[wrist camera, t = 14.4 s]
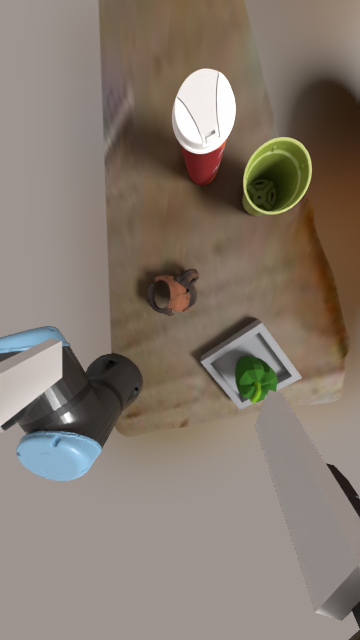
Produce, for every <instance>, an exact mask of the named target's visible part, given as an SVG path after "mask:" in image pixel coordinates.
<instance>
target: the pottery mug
mask: <svg viewBox="0 0 360 640" xmlns="http://www.w3.org/2000/svg"><path fill="white" fill-rule="evenodd" d="M198 278H199V275H198V271H197V270H196V269H189V270H187V271H185V272H184V273H183V274H182V275H178V276H177V277H176V281H175V280H173V279H174V277H173V276H169V275H161V276H157V277H155V282H154V283H150V284H149V287H148V300H149V303H150V306H151V307H152V308H153V309H154V310H155V311H157V312H160V313H163V314H165V315H168V316H172V315H174V314H173V313H172V309H173V310H175V311H177V312H182V311H183V312H186V311H188V310H189V309H191V308H192V307H193V306H194V304H195V302H196V298H197V292H196V288H195V287H194V284H195V282H196V281H197V279H198ZM162 280H163V281H165V282H166V283H167V284H168V286H169V289H170V301H169V303H168V305H167V306H166V307H165V308H163V309H161V308H159V307H157V305H156V303H155V301H154V288H155V286H156V284H157V283H158V282H160V281H162ZM186 288H187V289H188V290H189V291H187V292H186ZM184 309H185V310H184Z"/></svg>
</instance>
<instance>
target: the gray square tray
mask: <svg viewBox="0 0 360 640" xmlns="http://www.w3.org/2000/svg"><path fill="white" fill-rule="evenodd" d="M246 355H249V356H254V357H255V358H260V359H262V360H263V361H265V362H266V363H267V364H268V365H269V366H270V367H271V368H272V369H273V370H274V372H275V373H276V376H277V389H276V391H278V390H280V389H281V388H283V387H285V386H287V385H289V384H291V383H293V382H295V381H297V380H299V379H301V378H302V377H301V376H300V374H299V373H298V371H297V370H296V369H295V367H294V366H293V365H292V363H291V362H290V361H289V359H288V358H287V356H286V355H285V354H284V352H283V351H282V350H281V348H280V347H279V345H278V344H277V343H276V341H275V340H274V339H273V337H272V336H271V335H270V333H269V332H268V330H267V329H266V328H265V326H264V325H263V324H262V322H261V321H260V320H259V319H257V320H255V321H254V322H252V323H251V324H249V325H248V326H246V327H245V328H243V329H242V330H240V331H239V332H237V333H235V334H234V335H232V336H231V337H229V338H228V339H226V340H225V341H223V342H222V343H220V344H219V345H217V346H216V347H214V348H213V349H211V350H209V351H208V352H206V353H205V354H203V355H202V356H201V363H202V364H203V366H204V367H205V368H206V369H207V370H208V372H209V373H210V374H211V375H212V376H213V378H214V379H215V380H216V381H217V382H218V384H219V385H220V386H221V387H222V388H223V390H224V391H225V392H226V393H227V394H228V396H229V397H230V398H231V399H232V401H233V402H234V403H235V404H236V405H237V407H238V408H239V409H240V410H241V409H243V408H245V407H247V406H249V405H251V404H253V403H252V402H251V401H250V399H248V398H245V397H243V396H242V395H240V394H239V391H238V389H237V386H236V382H235V379H236V378H235V369H236V363H237V361H238V360H239V359H240V358H241V357H244V356H246ZM266 396H267V395H265V397H266Z"/></svg>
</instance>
